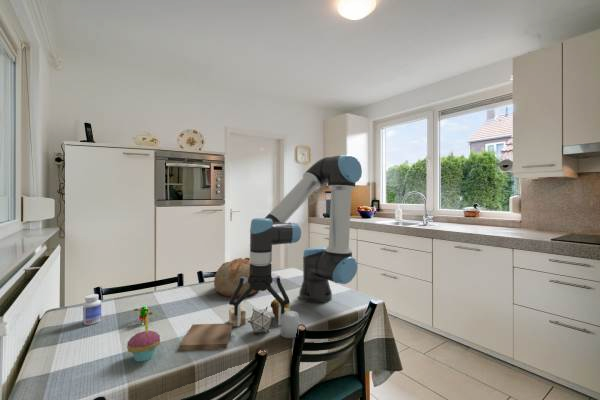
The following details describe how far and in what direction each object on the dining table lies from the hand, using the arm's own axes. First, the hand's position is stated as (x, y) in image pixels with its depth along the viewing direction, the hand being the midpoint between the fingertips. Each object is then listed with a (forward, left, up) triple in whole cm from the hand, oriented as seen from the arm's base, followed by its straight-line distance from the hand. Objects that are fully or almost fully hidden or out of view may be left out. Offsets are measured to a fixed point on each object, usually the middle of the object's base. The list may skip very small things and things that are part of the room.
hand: (259, 324), depth 99 cm
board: (+17, +3, -3) cm, 17 cm away
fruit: (-7, -10, -3) cm, 13 cm away
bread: (+12, -46, -3) cm, 48 cm away
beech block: (+9, -8, -3) cm, 12 cm away
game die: (0, 0, -3) cm, 3 cm away
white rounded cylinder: (-10, +2, -3) cm, 11 cm away
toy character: (+42, -10, -3) cm, 43 cm away
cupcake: (+33, +13, -3) cm, 35 cm away
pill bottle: (+62, -12, -3) cm, 63 cm away
